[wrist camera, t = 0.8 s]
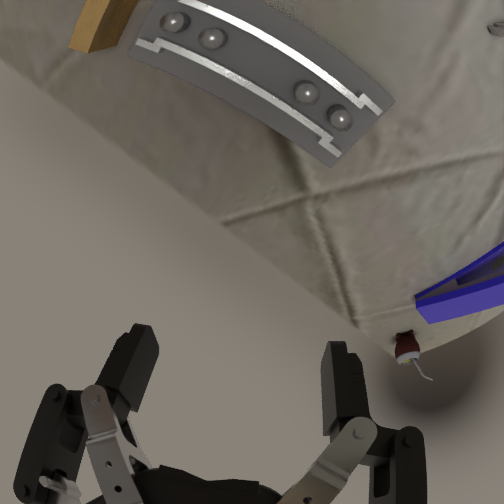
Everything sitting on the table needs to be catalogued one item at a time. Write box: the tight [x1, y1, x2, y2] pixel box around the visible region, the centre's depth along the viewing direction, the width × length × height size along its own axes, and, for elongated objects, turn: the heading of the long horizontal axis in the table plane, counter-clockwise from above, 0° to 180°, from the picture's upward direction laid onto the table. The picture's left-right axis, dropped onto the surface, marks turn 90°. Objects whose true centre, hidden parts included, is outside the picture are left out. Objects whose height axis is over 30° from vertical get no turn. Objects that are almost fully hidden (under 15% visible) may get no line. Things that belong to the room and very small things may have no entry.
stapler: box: [415, 242, 504, 324], centre depth 41 cm, size 12×28×10 cm, turn 139°
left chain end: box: [136, 0, 278, 86], centre depth 20 cm, size 13×8×3 cm, turn 58°
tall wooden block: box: [68, 0, 138, 53], centre depth 17 cm, size 3×7×6 cm, turn 148°
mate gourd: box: [395, 330, 433, 380], centre depth 58 cm, size 8×8×15 cm
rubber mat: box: [128, 0, 395, 168], centre depth 23 cm, size 28×12×1 cm, turn 58°
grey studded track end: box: [244, 40, 382, 157], centre depth 24 cm, size 13×8×3 cm, turn 58°
